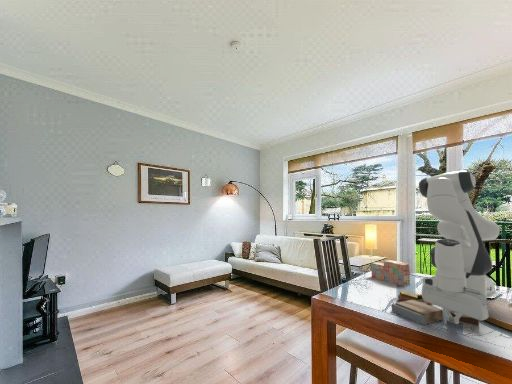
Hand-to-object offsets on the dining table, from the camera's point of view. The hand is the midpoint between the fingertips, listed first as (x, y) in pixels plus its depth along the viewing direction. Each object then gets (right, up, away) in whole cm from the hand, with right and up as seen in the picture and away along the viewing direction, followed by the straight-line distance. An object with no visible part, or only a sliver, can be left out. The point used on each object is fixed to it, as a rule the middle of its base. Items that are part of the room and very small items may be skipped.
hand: (453, 322), depth 89 cm
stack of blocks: (+10, -7, +61) cm, 62 cm away
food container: (+9, -3, +6) cm, 11 cm away
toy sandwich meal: (+2, -5, +24) cm, 25 cm away
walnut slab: (-5, -3, +11) cm, 13 cm away
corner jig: (-6, -3, +11) cm, 13 cm away
